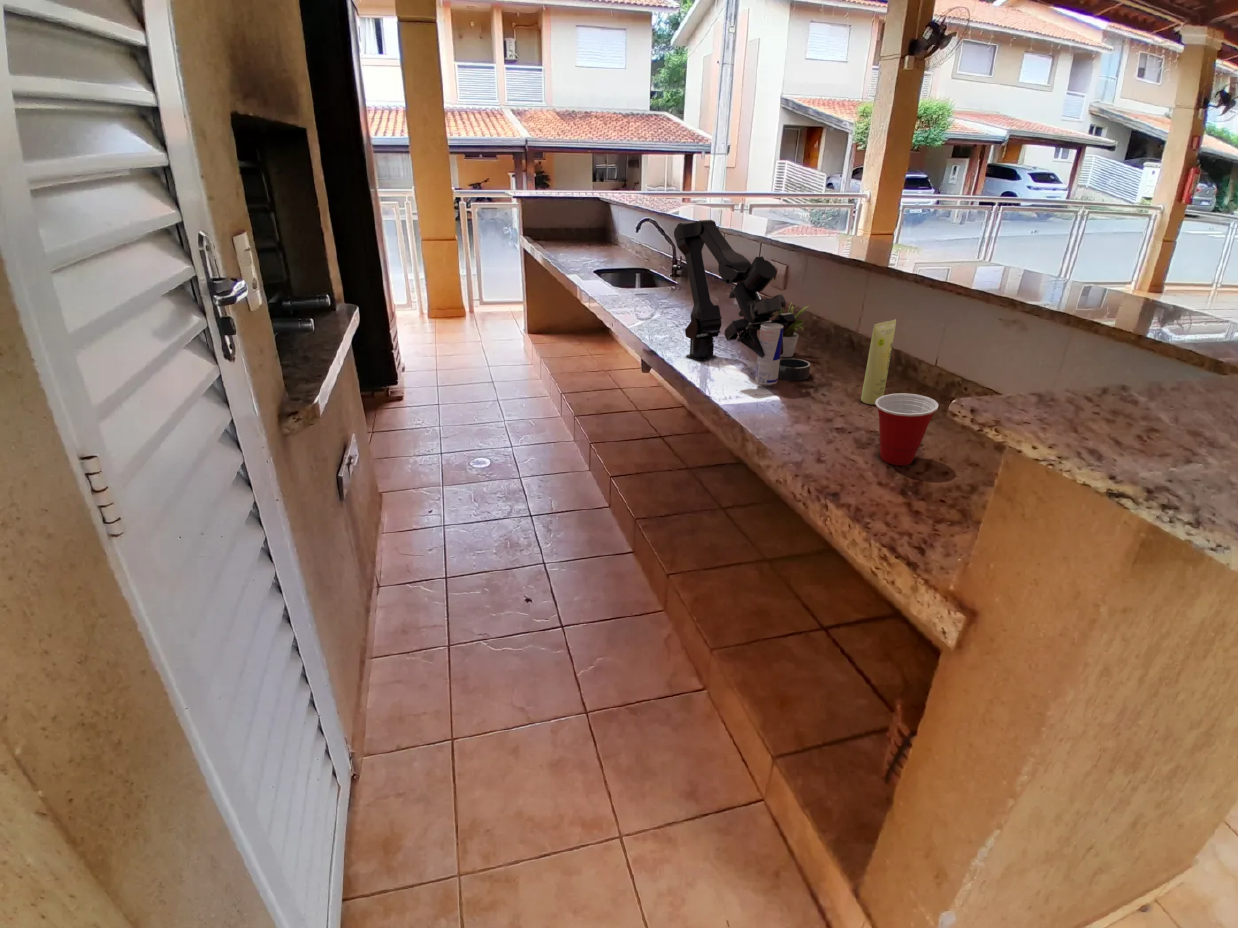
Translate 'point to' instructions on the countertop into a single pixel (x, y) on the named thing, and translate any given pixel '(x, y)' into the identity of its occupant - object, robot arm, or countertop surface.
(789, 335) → the house plant
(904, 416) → the plastic cup
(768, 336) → the beverage can
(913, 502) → the countertop surface
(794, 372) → the can holder
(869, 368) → the tube
